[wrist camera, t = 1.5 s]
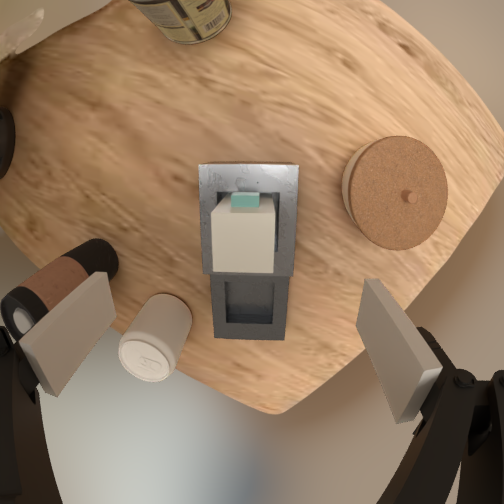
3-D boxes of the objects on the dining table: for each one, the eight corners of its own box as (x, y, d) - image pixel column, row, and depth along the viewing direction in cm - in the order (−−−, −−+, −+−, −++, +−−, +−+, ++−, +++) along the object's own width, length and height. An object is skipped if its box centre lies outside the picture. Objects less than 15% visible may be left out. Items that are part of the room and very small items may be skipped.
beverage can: (151, 283, 41) (118, 327, 30) (199, 304, 42) (179, 354, 31) (141, 322, 44) (112, 368, 33) (185, 341, 45) (166, 392, 34)
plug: (228, 234, 34) (213, 271, 24) (228, 184, 32) (210, 200, 22) (270, 234, 34) (273, 273, 24) (271, 184, 32) (275, 201, 21)
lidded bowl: (360, 245, 38) (391, 279, 28) (311, 170, 35) (331, 179, 24) (426, 197, 35) (471, 215, 25) (384, 121, 32) (425, 114, 21)
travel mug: (116, 287, 42) (48, 365, 23) (80, 270, 41) (4, 335, 23) (123, 246, 40) (41, 315, 21) (84, 229, 39) (-5, 283, 20)
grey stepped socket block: (218, 322, 43) (209, 355, 36) (212, 161, 35) (198, 164, 27) (282, 324, 43) (285, 358, 35) (291, 162, 35) (298, 165, 27)
